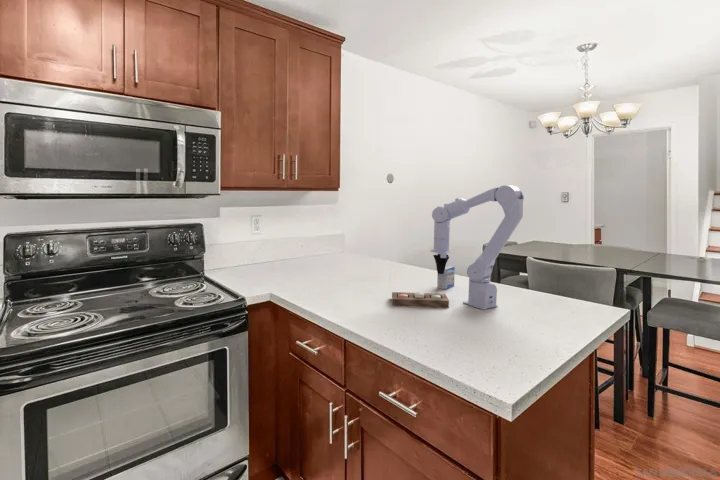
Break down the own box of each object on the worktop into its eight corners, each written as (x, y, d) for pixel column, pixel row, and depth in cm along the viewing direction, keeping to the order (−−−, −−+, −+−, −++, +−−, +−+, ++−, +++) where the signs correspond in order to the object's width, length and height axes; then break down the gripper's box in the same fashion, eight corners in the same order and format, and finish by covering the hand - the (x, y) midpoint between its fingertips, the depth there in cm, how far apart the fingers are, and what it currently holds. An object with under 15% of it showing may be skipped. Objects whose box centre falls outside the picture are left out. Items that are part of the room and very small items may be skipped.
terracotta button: (407, 300, 147) (407, 294, 146) (407, 303, 143) (408, 296, 143) (397, 300, 147) (397, 293, 147) (397, 302, 143) (398, 296, 143)
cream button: (423, 299, 146) (424, 292, 146) (424, 301, 142) (424, 294, 142) (414, 298, 146) (414, 292, 146) (414, 301, 143) (414, 294, 142)
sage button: (440, 301, 146) (440, 294, 145) (441, 304, 142) (441, 297, 142) (430, 301, 146) (430, 294, 146) (431, 303, 142) (431, 297, 142)
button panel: (445, 300, 149) (445, 293, 148) (448, 307, 139) (448, 300, 138) (391, 298, 150) (392, 292, 150) (391, 306, 140) (391, 299, 140)
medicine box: (446, 289, 165) (447, 269, 164) (436, 288, 167) (437, 268, 166) (454, 286, 171) (455, 266, 170) (444, 284, 174) (445, 265, 173)
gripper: (429, 236, 157) (428, 269, 158) (432, 240, 142) (431, 277, 144) (447, 236, 156) (446, 270, 158) (452, 240, 142) (451, 277, 143)
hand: (440, 273), depth 151 cm, fingers closed
